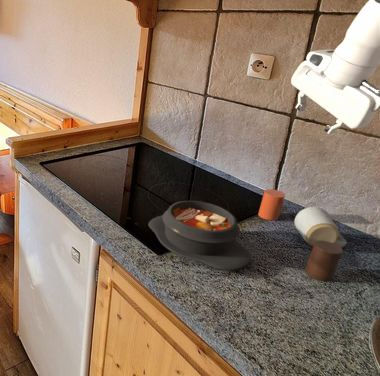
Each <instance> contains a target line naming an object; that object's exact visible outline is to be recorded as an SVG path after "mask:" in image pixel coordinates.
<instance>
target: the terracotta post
mask: <svg viewBox="0 0 380 376" xmlns="http://www.w3.org/2000/svg"><path fill="white" fill-rule="evenodd" d="M285 198H286V194H285V192H283V191H280V190H277V189H272V188H267V189H265V190H263V194H262V198H261V202H260V206H259V210H258V213H257V215H258V216H259V218H261V219H264V220H266V221H278V220H279V218H280V214H281V211H282V208H283V206H284V201H285Z"/></svg>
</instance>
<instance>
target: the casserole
mask: <svg viewBox="0 0 380 376" xmlns="http://www.w3.org/2000/svg"><path fill="white" fill-rule="evenodd" d="M147 225H148V228H149V229H150V230H151V231H152V232H153V233H154V234H155V236H156V239H158V241H159V243H160V244H161V245H162V246H163V247H164V248H165V249H167V250H168V251H170V252H172V253H174V254H176V255H178V256H180V257H182V258H185V259H189V260H192V261H196V262H200V263H202V264H205V265H207V266H209V267H212V268H215V269H217V270H218V269H219V270H223V271H224V270H227V271H228V270H229V271H231V270H238V269H242V268H244V267H246V266H248V265H249V264H250V263H251V261H252V260H253V255H252V253H251V251H249V249H247V248H246V247H245V246H243V245H242V244H241V243H239V241H238V240H237V238H238V237H239V236H240V233H241V229H240V226H239V225H238V220H237V218H236V216H235V215H234V214H233V213H231V211H229V210H228V209H226V208H224V207H222V206H219V205H216V204H213V203H209V202H205V201H199V200H182V201H178V202H175V203H172V204H171V205H170V206H169V207H168V208H167V210H166V211H164V212H163V214H162V215H158V216H156V217H153V218H152V219H151V220H149V222H148V224H147Z"/></svg>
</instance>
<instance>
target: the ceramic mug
mask: <svg viewBox="0 0 380 376" xmlns="http://www.w3.org/2000/svg"><path fill="white" fill-rule="evenodd" d="M294 226H295V228H296V230H297V231H298V233H299V234H300V235H301V238H302V239H303V240H304V241H305V243H306V244H308V245H309V246H310V247H313V246H314V244H315V242H316V241H328V242H331V243H334V244H336V245H338V246H340V247H341V248H342V249H343V248H344V247H345V246H346V245H347V240H346V239H345V238H344V237H343V236H342V235H341V234H340V232H339V227H338V226H337V225H336V223H335V222H334V220H333V219H332V217H331V216H330V214H329V213H328V211H326V210H325V209H324V208H322V207H320V206H319V207H318V206H309V207H306V208H303V209H301V210H300V211H299V212H298V213H297V214H296V215H295V218H294Z"/></svg>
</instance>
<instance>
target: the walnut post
mask: <svg viewBox="0 0 380 376" xmlns="http://www.w3.org/2000/svg"><path fill="white" fill-rule="evenodd" d="M343 252H344V249H343V247H342V248H341V247H340V246H338V245H336V244H334V243H331V242H328V241H316V242H315V244H314V246H312V249H311V253H310V255H309V258H308V260H307V263H306V266H305V268H304V269H305V270H304V272H305V274H306V275H307V276H308V277H310V278H311V279H314V280H316V281H318V282H324V283H326V282H332V280H333V277H334V275H335V273H336V271H337V268H338V265H339V263H340V260H341V258H342V255H343Z"/></svg>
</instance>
